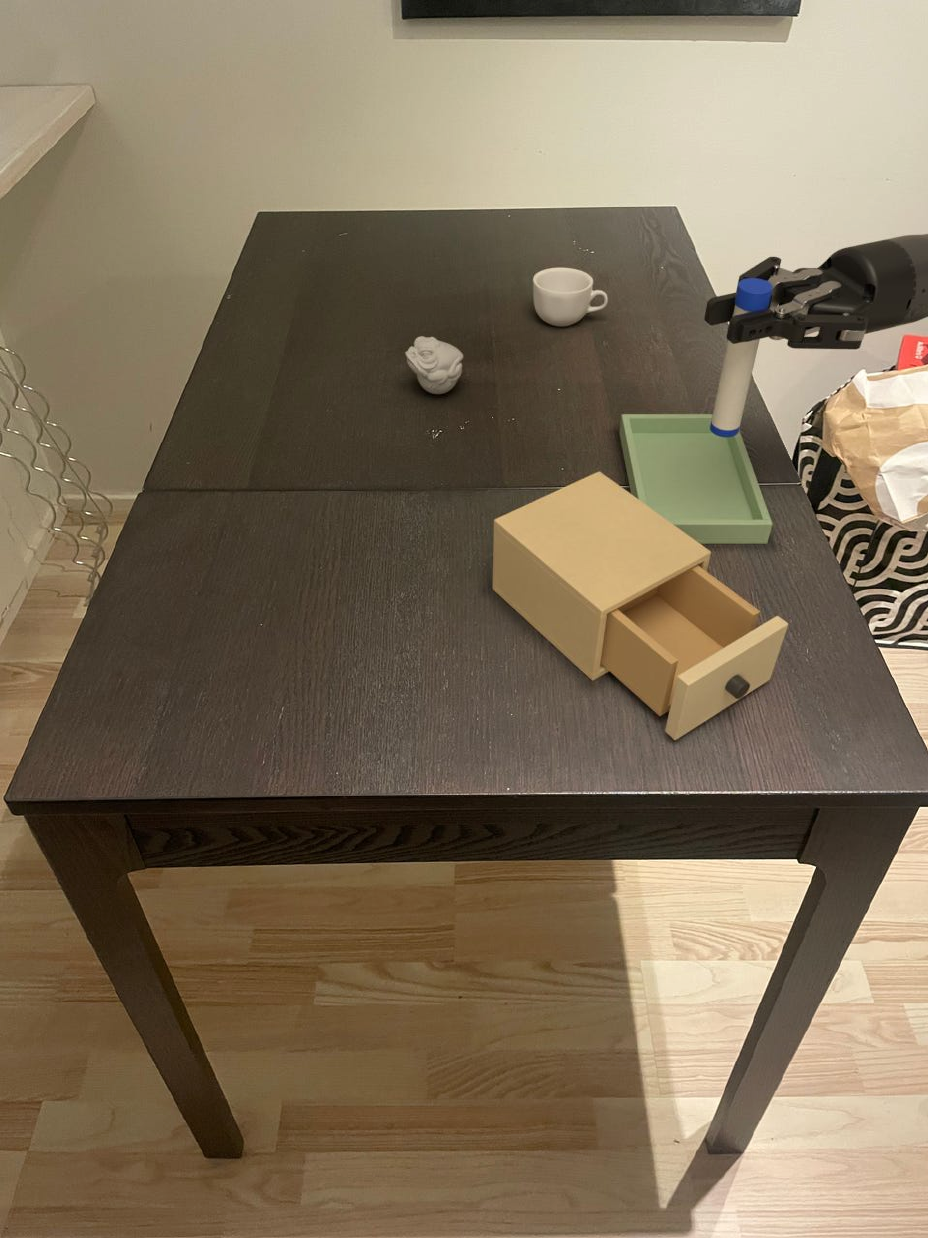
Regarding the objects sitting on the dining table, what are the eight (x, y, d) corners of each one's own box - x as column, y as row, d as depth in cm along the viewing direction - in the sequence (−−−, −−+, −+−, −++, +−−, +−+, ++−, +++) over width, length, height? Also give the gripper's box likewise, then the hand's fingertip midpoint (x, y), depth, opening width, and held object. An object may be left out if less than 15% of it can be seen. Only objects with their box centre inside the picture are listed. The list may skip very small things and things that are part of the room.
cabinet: (695, 621, 87) (711, 551, 81) (592, 681, 82) (601, 611, 76) (591, 539, 95) (599, 470, 89) (492, 589, 90) (493, 519, 84)
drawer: (781, 688, 80) (800, 632, 75) (685, 750, 75) (700, 695, 71) (659, 592, 89) (670, 536, 84) (567, 643, 84) (572, 587, 79)
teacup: (525, 328, 126) (527, 289, 122) (537, 302, 132) (539, 264, 128) (600, 337, 124) (604, 298, 121) (609, 310, 130) (613, 272, 126)
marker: (743, 425, 89) (776, 281, 79) (734, 441, 87) (767, 296, 77) (714, 418, 90) (743, 275, 80) (704, 433, 88) (733, 288, 78)
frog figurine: (401, 383, 117) (398, 330, 112) (456, 374, 118) (455, 321, 113) (414, 409, 112) (412, 355, 108) (471, 399, 114) (471, 345, 109)
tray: (767, 543, 95) (773, 524, 93) (640, 543, 95) (643, 524, 93) (729, 432, 109) (733, 413, 107) (619, 432, 109) (621, 413, 107)
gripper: (847, 211, 86) (681, 244, 81) (958, 276, 77) (779, 317, 72) (825, 290, 91) (669, 325, 87) (927, 360, 82) (758, 402, 78)
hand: (720, 321), depth 80 cm, fingers closed on marker, 3 cm apart
